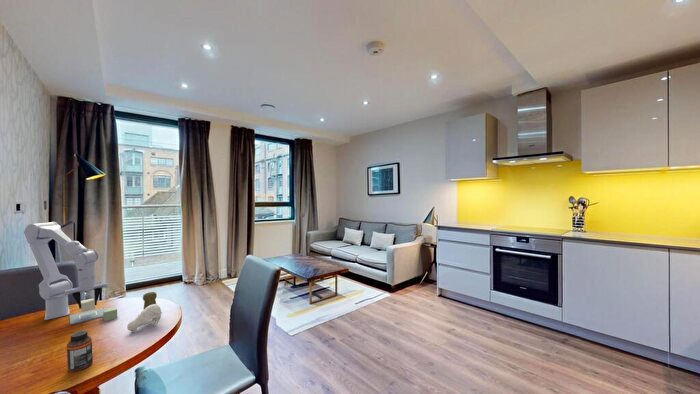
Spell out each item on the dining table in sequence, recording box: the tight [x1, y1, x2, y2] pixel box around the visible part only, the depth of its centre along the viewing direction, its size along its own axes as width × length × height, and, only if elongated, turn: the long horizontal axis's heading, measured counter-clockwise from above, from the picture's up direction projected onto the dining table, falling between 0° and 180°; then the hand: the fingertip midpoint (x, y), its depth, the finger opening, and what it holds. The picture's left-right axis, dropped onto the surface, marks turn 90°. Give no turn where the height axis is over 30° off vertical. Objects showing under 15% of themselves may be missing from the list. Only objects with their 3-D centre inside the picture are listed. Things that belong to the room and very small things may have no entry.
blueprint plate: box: [69, 307, 105, 326], centre depth 130 cm, size 12×12×1 cm
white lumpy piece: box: [127, 303, 163, 333], centre depth 118 cm, size 6×8×12 cm
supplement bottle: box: [66, 329, 93, 373], centre depth 92 cm, size 6×6×11 cm
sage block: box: [102, 306, 118, 322], centre depth 127 cm, size 4×4×4 cm
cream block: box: [80, 297, 96, 313], centre depth 129 cm, size 4×4×4 cm
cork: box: [142, 291, 157, 311], centre depth 128 cm, size 6×6×11 cm
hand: (87, 306), depth 129 cm, fingers closed on cream block, 4 cm apart
